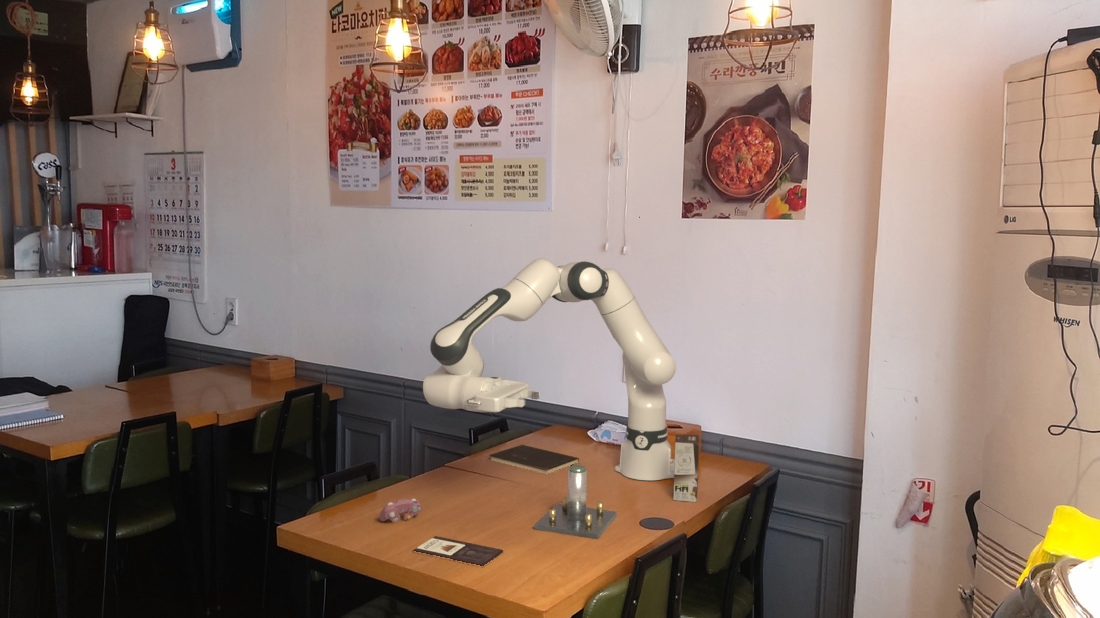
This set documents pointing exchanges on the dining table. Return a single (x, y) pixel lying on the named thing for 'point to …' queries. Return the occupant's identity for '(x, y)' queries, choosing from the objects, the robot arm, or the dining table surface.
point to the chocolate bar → (459, 550)
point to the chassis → (588, 528)
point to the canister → (577, 492)
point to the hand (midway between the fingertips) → (531, 399)
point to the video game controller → (400, 510)
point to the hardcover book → (534, 459)
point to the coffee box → (686, 467)
